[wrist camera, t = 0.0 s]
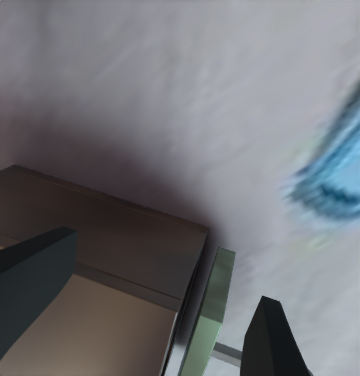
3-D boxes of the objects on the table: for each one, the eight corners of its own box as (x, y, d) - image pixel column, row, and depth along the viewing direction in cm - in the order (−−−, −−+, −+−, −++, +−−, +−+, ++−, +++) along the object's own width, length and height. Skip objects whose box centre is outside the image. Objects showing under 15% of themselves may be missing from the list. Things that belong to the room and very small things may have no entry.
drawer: (322, 280, 20) (341, 367, 15) (261, 396, 26) (258, 492, 20) (44, 188, 23) (-28, 230, 18) (41, 308, 29) (-15, 370, 23)
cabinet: (208, 227, 22) (178, 312, 15) (171, 355, 28) (135, 460, 21) (14, 164, 24) (-95, 210, 17) (17, 294, 30) (-63, 369, 23)
